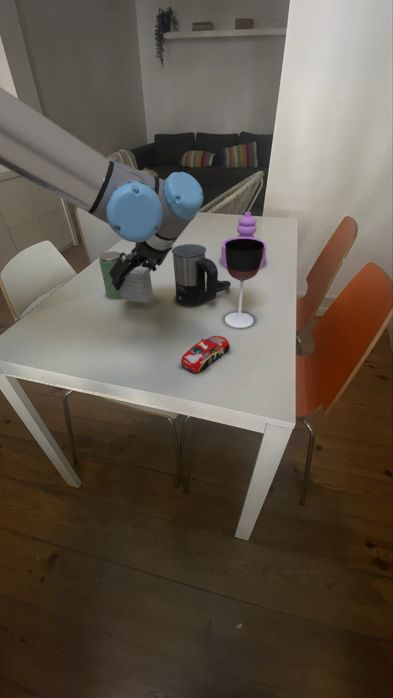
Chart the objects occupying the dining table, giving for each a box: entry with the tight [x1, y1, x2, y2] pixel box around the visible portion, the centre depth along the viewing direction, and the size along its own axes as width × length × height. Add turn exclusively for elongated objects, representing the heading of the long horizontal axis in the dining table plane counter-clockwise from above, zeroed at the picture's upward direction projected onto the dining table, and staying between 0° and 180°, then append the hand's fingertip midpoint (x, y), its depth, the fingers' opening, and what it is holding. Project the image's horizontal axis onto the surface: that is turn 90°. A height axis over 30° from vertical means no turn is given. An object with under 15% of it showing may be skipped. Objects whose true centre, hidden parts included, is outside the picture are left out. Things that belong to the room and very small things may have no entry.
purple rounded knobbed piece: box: [220, 211, 267, 269], centre depth 113 cm, size 25×15×13 cm, turn 169°
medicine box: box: [119, 266, 154, 304], centre depth 86 cm, size 8×4×9 cm, turn 71°
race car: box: [180, 335, 231, 374], centre depth 71 cm, size 13×5×4 cm, turn 137°
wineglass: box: [224, 239, 264, 329], centre depth 78 cm, size 8×9×20 cm
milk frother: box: [171, 243, 232, 307], centre depth 90 cm, size 14×16×15 cm
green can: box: [98, 250, 122, 300], centre depth 93 cm, size 7×7×12 cm
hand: (128, 281), depth 88 cm, fingers closed on medicine box, 7 cm apart
